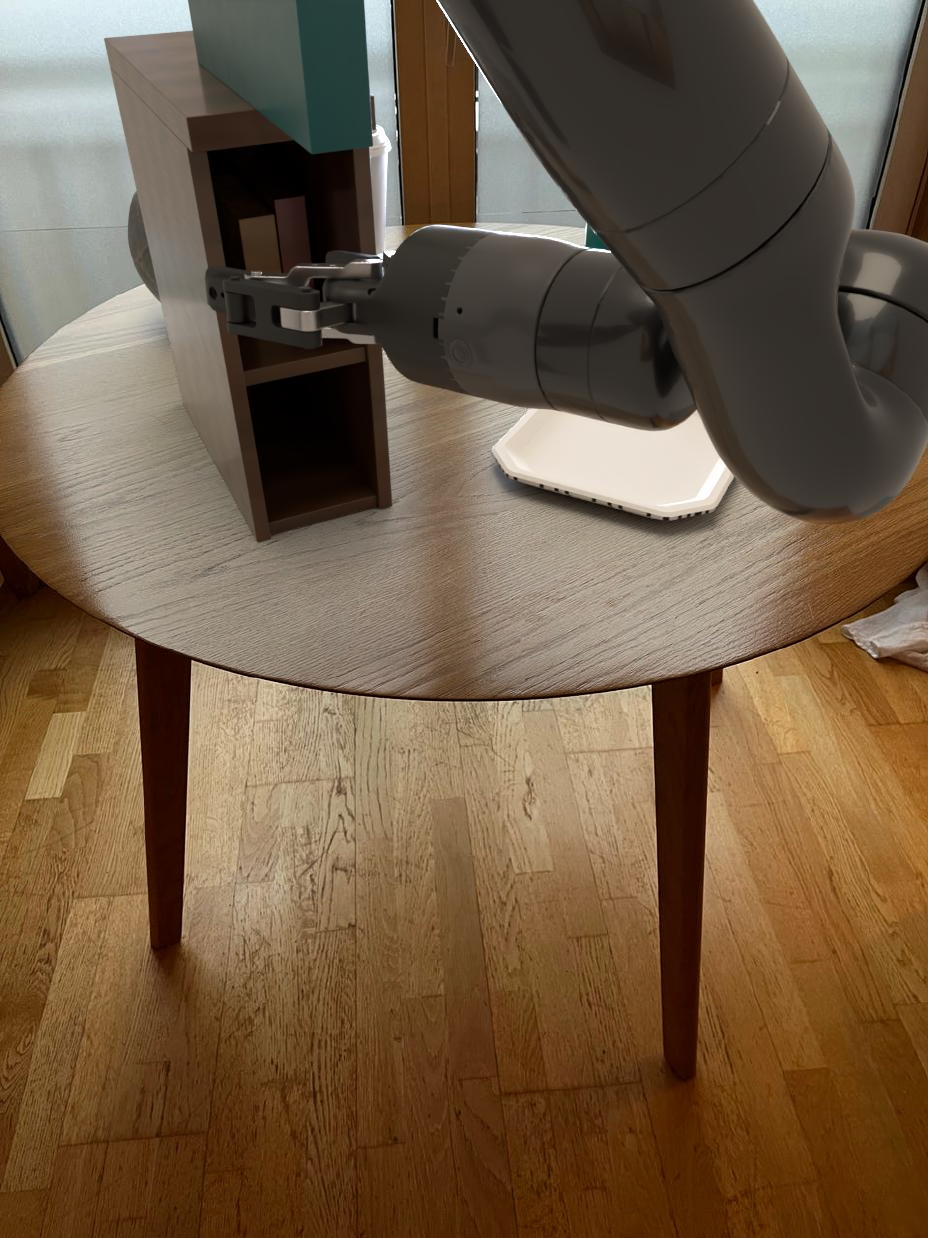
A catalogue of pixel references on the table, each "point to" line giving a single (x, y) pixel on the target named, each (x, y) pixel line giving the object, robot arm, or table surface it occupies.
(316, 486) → the bookcase
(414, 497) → the table surface
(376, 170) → the coffee cup
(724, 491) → the plate
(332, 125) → the book
